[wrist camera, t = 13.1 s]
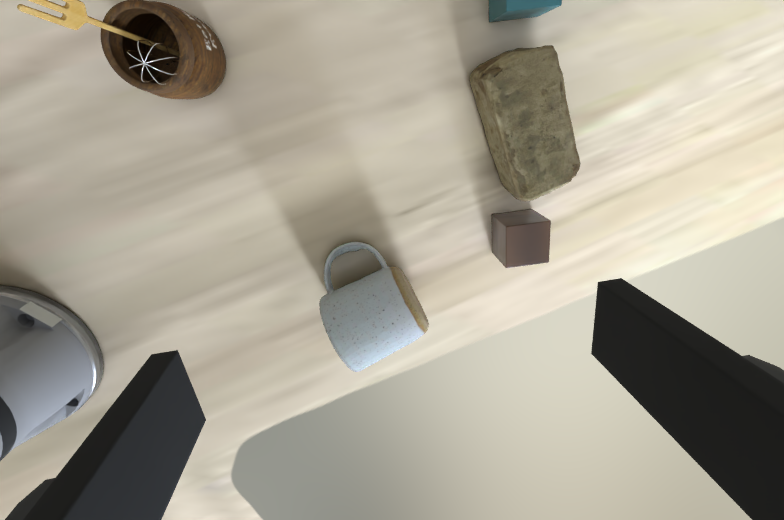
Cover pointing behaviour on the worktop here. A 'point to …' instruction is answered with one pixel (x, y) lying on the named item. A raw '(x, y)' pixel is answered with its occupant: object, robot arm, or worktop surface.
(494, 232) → the walnut block
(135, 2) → the utensil holder
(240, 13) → the worktop surface
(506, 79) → the stone block
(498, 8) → the teal block
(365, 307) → the ceramic mug
